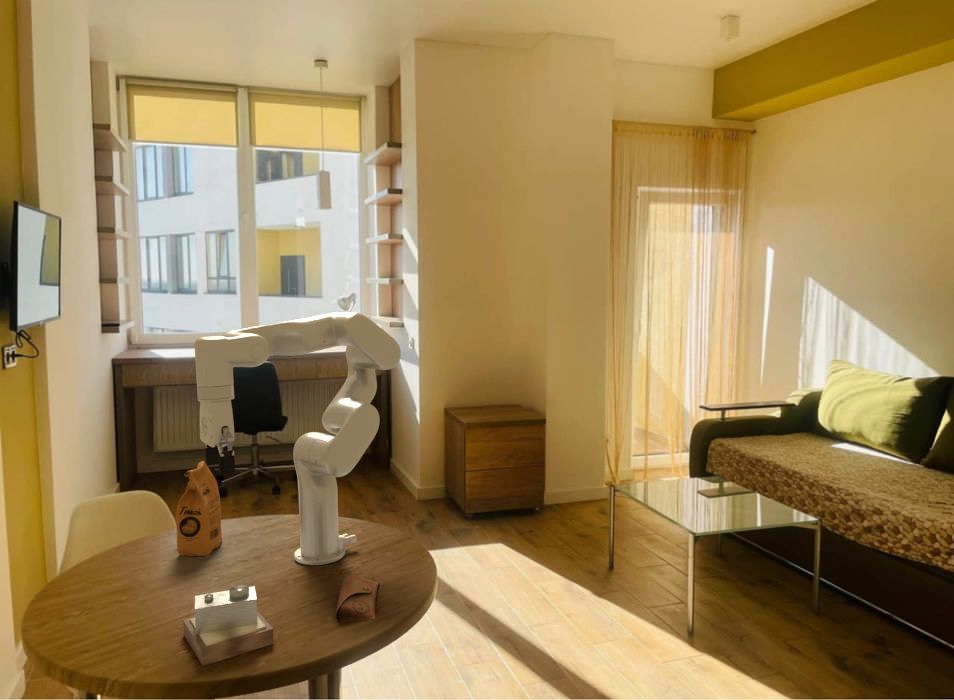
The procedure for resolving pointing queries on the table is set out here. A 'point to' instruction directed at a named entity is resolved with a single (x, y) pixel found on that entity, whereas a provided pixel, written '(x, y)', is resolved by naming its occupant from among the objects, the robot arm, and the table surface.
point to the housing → (226, 609)
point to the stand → (227, 640)
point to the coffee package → (199, 514)
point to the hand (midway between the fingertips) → (220, 469)
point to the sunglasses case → (356, 598)
